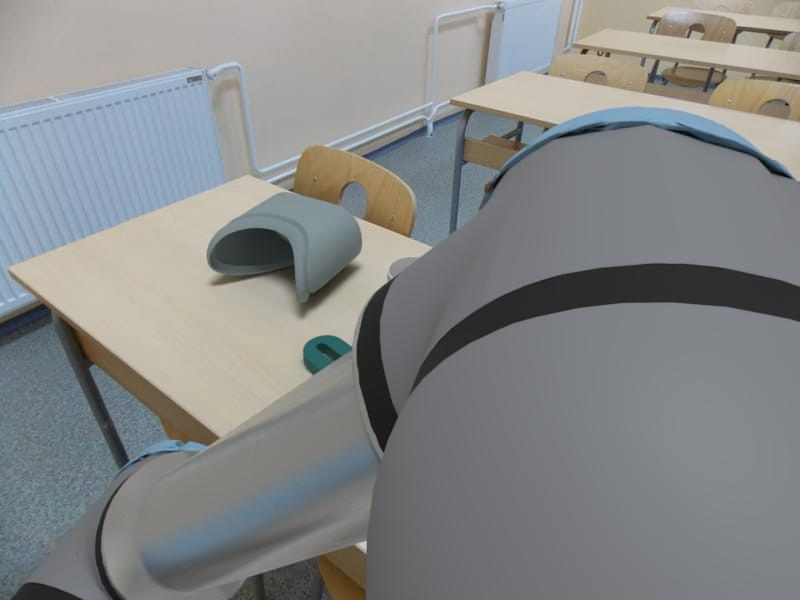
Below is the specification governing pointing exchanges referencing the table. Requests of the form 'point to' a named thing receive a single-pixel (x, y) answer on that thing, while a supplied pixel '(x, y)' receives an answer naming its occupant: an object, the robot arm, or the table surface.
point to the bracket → (323, 352)
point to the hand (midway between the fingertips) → (639, 452)
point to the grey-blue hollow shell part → (288, 241)
